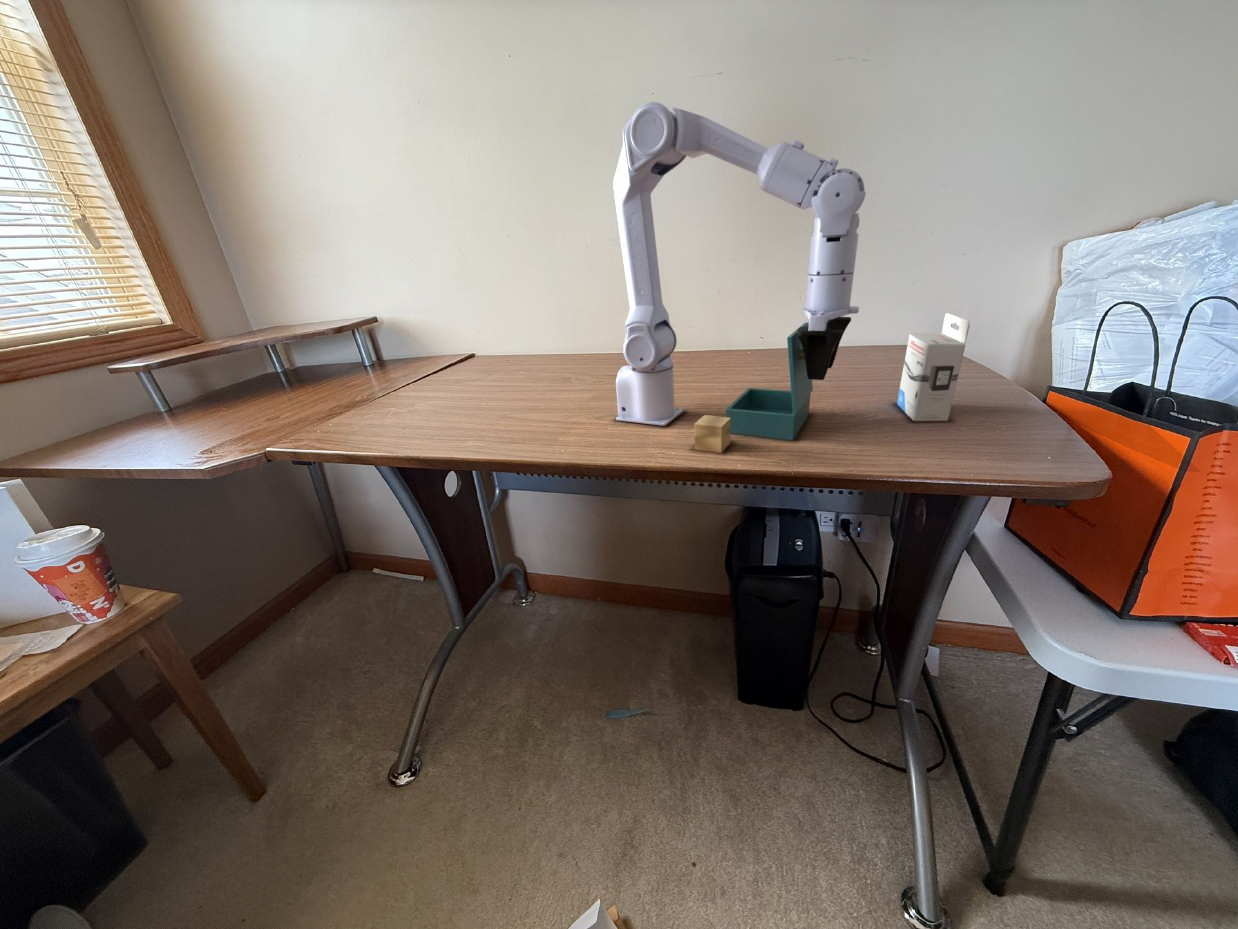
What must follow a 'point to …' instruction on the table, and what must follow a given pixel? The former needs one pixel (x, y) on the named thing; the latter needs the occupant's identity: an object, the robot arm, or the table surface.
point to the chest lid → (798, 371)
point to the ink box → (932, 371)
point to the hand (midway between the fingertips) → (820, 373)
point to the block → (712, 433)
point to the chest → (766, 414)
